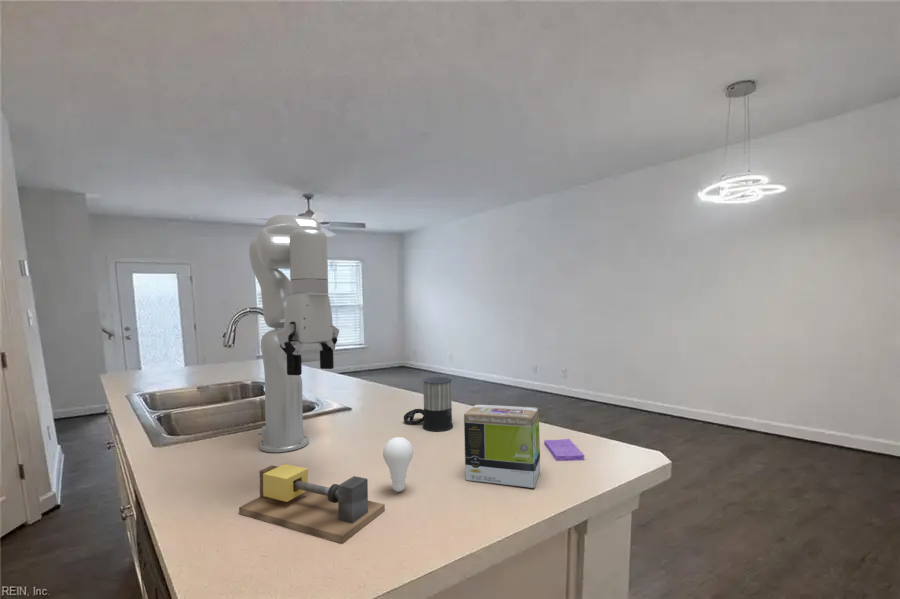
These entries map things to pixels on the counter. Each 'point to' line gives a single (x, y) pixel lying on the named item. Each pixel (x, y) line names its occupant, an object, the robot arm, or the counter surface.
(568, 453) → the sponges
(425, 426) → the milk frother
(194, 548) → the counter surface
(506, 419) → the tea box
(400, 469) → the lightbulb
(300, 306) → the robot arm
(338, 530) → the cable rail
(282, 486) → the sleeve
